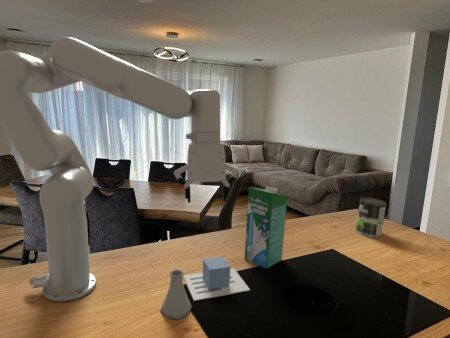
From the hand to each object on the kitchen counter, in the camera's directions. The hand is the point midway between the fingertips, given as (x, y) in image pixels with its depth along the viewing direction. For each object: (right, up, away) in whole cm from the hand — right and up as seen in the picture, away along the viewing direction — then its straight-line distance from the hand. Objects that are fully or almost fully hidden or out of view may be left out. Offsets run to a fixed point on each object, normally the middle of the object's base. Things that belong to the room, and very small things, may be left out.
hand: (206, 200), depth 82 cm
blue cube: (+2, -24, +3) cm, 24 cm away
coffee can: (+67, -19, +47) cm, 84 cm away
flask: (-7, -26, -8) cm, 28 cm away
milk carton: (+18, -22, +19) cm, 34 cm away
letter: (+2, -24, +3) cm, 24 cm away
